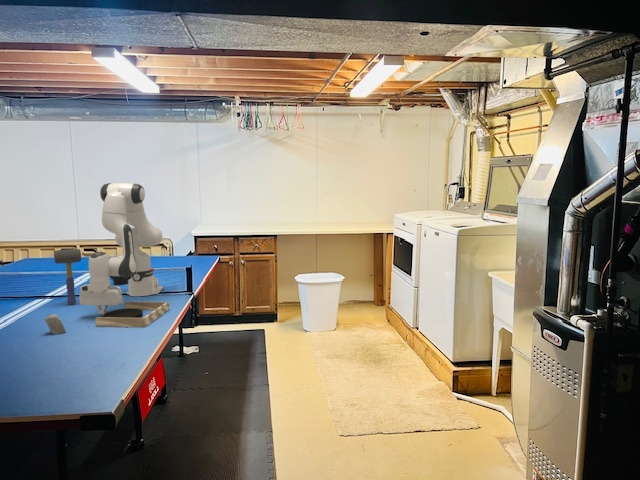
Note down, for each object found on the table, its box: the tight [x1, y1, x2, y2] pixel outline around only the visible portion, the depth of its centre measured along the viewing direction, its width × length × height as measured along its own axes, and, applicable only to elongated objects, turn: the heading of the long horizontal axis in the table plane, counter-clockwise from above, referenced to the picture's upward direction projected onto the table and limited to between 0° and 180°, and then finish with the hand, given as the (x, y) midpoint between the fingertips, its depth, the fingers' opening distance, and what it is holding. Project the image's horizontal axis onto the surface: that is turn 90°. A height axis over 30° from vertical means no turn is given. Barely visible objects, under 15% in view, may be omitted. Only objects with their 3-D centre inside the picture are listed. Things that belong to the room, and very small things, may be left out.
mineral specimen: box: [44, 313, 67, 335], centre depth 201 cm, size 7×9×8 cm
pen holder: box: [112, 276, 129, 286], centre depth 295 cm, size 9×9×10 cm
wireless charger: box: [102, 308, 144, 318], centre depth 223 cm, size 18×18×2 cm
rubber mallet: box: [53, 248, 82, 306], centre depth 245 cm, size 12×8×30 cm, turn 115°
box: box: [95, 301, 170, 328], centre depth 222 cm, size 28×23×4 cm
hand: (102, 313), depth 223 cm, fingers closed
